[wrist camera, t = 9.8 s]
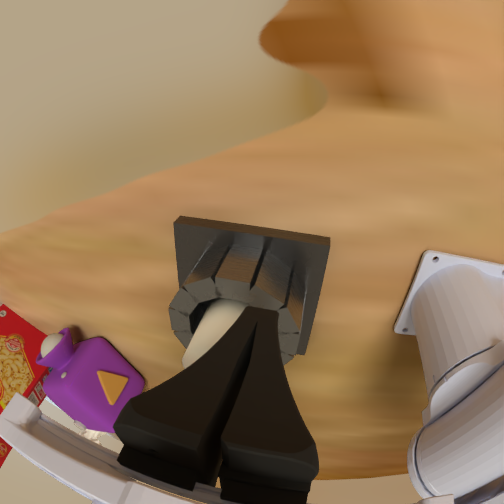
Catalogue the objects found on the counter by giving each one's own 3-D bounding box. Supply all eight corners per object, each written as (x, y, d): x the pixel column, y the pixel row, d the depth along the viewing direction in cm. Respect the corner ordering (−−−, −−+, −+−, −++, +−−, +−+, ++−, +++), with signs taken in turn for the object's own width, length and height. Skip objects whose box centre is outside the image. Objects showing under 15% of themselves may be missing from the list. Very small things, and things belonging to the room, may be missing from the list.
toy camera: (75, 301, 32) (25, 359, 24) (158, 376, 36) (125, 440, 27) (54, 330, 37) (16, 377, 29) (122, 390, 41) (94, 441, 32)
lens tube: (330, 237, 21) (330, 281, 17) (305, 345, 27) (299, 392, 23) (180, 215, 23) (146, 250, 19) (189, 322, 29) (167, 363, 24)
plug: (274, 291, 21) (256, 358, 16) (267, 335, 23) (249, 398, 18) (212, 278, 22) (179, 339, 17) (211, 322, 24) (185, 382, 19)
